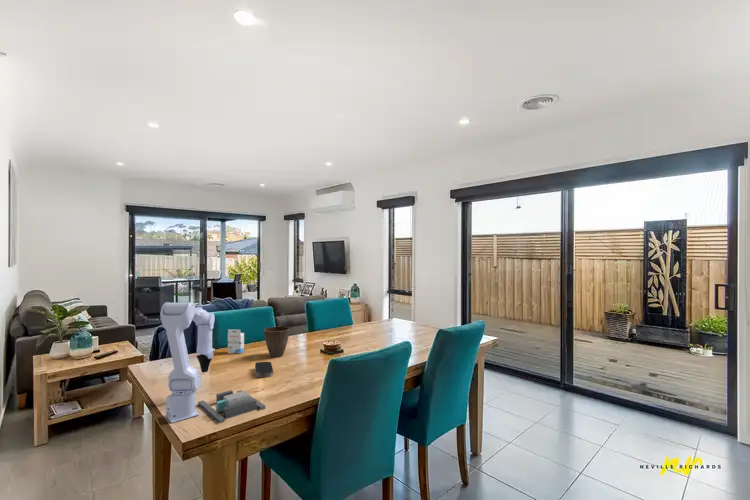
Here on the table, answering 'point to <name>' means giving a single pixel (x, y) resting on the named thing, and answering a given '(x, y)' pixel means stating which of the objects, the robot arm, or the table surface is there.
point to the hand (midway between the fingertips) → (204, 371)
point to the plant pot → (276, 340)
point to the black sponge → (263, 369)
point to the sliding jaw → (221, 400)
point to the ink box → (235, 341)
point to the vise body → (232, 409)
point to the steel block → (235, 398)
